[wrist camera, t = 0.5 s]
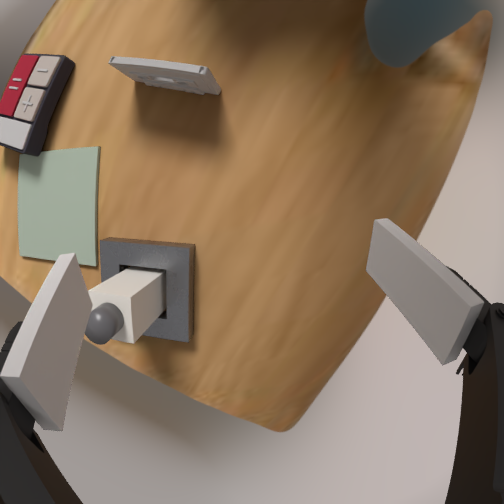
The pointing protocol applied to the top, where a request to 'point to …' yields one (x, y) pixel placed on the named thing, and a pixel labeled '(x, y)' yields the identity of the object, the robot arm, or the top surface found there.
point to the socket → (177, 279)
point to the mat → (59, 204)
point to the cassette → (168, 74)
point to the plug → (126, 304)
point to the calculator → (32, 101)
